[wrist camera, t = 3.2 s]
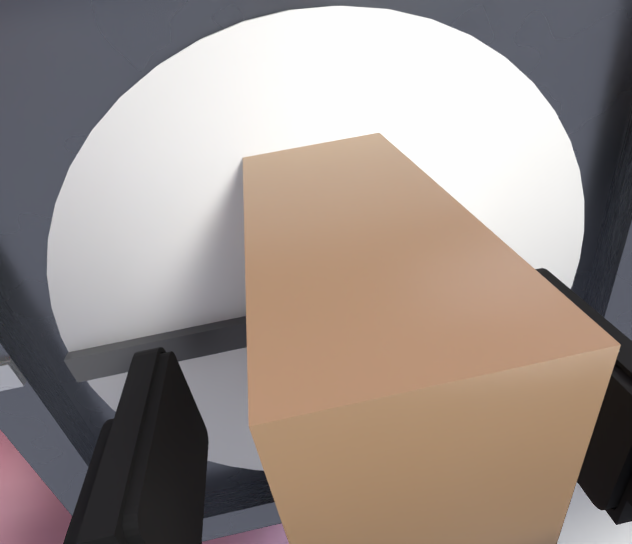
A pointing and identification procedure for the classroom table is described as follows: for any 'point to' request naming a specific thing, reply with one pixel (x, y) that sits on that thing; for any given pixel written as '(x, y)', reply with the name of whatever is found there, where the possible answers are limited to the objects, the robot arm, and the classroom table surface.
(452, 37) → the dial
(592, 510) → the classroom table surface
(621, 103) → the dial housing
